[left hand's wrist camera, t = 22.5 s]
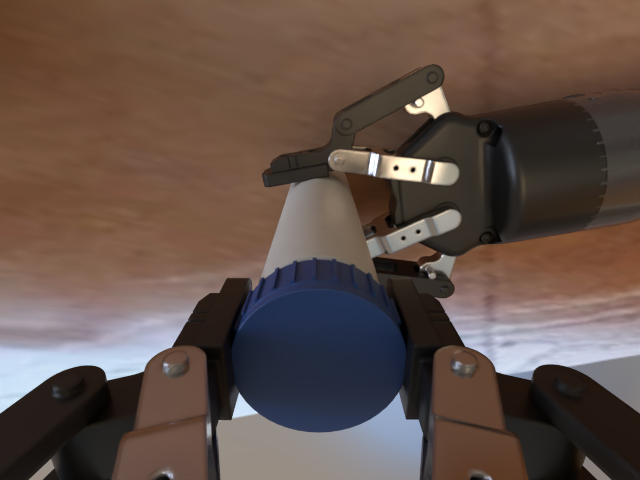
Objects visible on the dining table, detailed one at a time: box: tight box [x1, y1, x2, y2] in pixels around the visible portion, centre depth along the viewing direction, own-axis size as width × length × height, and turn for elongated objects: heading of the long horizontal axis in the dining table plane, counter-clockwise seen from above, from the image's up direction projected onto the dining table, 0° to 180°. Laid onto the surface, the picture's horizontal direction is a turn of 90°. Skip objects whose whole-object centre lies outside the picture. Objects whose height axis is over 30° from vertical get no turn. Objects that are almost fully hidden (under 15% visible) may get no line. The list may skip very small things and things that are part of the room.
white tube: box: [261, 171, 380, 285], centre depth 19 cm, size 4×4×19 cm
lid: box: [231, 258, 406, 432], centre depth 10 cm, size 5×5×2 cm
